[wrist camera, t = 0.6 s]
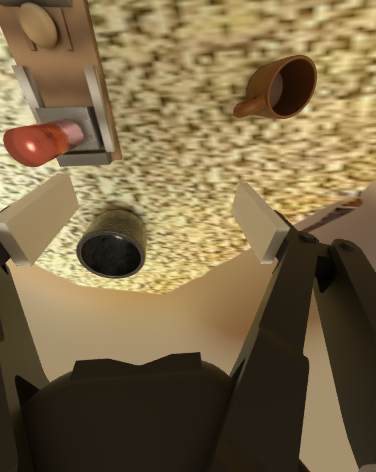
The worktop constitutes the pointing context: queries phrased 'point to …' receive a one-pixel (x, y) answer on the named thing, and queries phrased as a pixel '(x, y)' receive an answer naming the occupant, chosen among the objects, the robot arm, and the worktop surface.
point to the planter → (113, 245)
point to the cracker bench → (63, 71)
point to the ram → (54, 135)
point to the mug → (280, 89)
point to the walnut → (38, 25)
